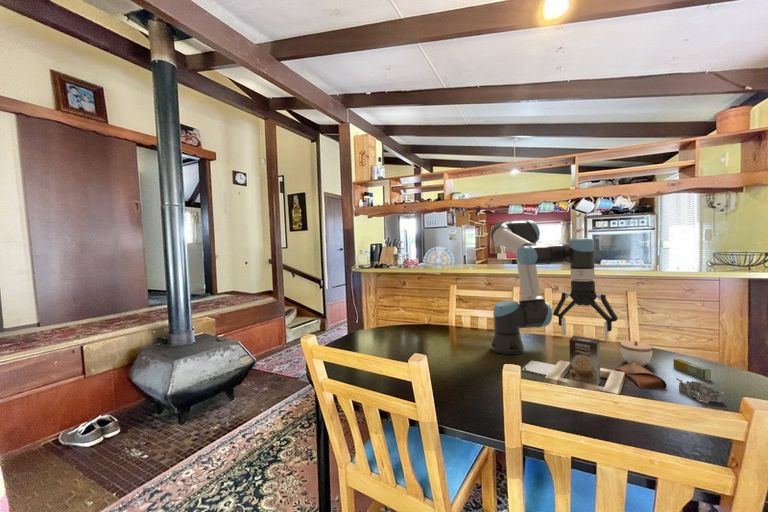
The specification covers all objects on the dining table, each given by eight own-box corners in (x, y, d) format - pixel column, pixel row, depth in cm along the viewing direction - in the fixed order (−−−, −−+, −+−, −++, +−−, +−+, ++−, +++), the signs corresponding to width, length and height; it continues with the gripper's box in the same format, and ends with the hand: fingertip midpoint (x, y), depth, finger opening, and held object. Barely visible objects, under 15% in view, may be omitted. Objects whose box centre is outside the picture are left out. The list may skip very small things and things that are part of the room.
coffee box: (569, 381, 121) (567, 339, 120) (573, 375, 126) (572, 335, 125) (598, 387, 115) (596, 343, 114) (601, 381, 119) (600, 339, 119)
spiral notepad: (521, 370, 133) (521, 369, 133) (531, 361, 142) (531, 360, 142) (548, 376, 126) (547, 374, 126) (556, 366, 135) (556, 365, 135)
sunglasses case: (612, 368, 130) (621, 354, 130) (628, 377, 130) (637, 363, 129) (640, 388, 113) (651, 372, 112) (659, 398, 112) (670, 382, 111)
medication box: (711, 380, 116) (711, 369, 116) (704, 381, 116) (705, 370, 116) (678, 368, 128) (678, 358, 128) (672, 368, 128) (672, 358, 128)
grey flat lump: (674, 389, 112) (674, 377, 112) (698, 389, 111) (698, 377, 111) (700, 404, 101) (700, 391, 101) (727, 404, 100) (727, 391, 100)
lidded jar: (659, 368, 128) (658, 345, 128) (628, 367, 130) (628, 345, 130) (643, 358, 139) (643, 337, 138) (615, 358, 141) (615, 337, 140)
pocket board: (545, 383, 120) (544, 377, 120) (559, 366, 135) (559, 360, 135) (617, 401, 105) (617, 393, 105) (624, 378, 121) (624, 372, 120)
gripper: (543, 280, 124) (545, 334, 125) (623, 282, 107) (625, 345, 108) (548, 278, 130) (550, 330, 130) (625, 279, 113) (627, 339, 114)
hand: (584, 337), depth 119 cm, fingers open, 13 cm apart
